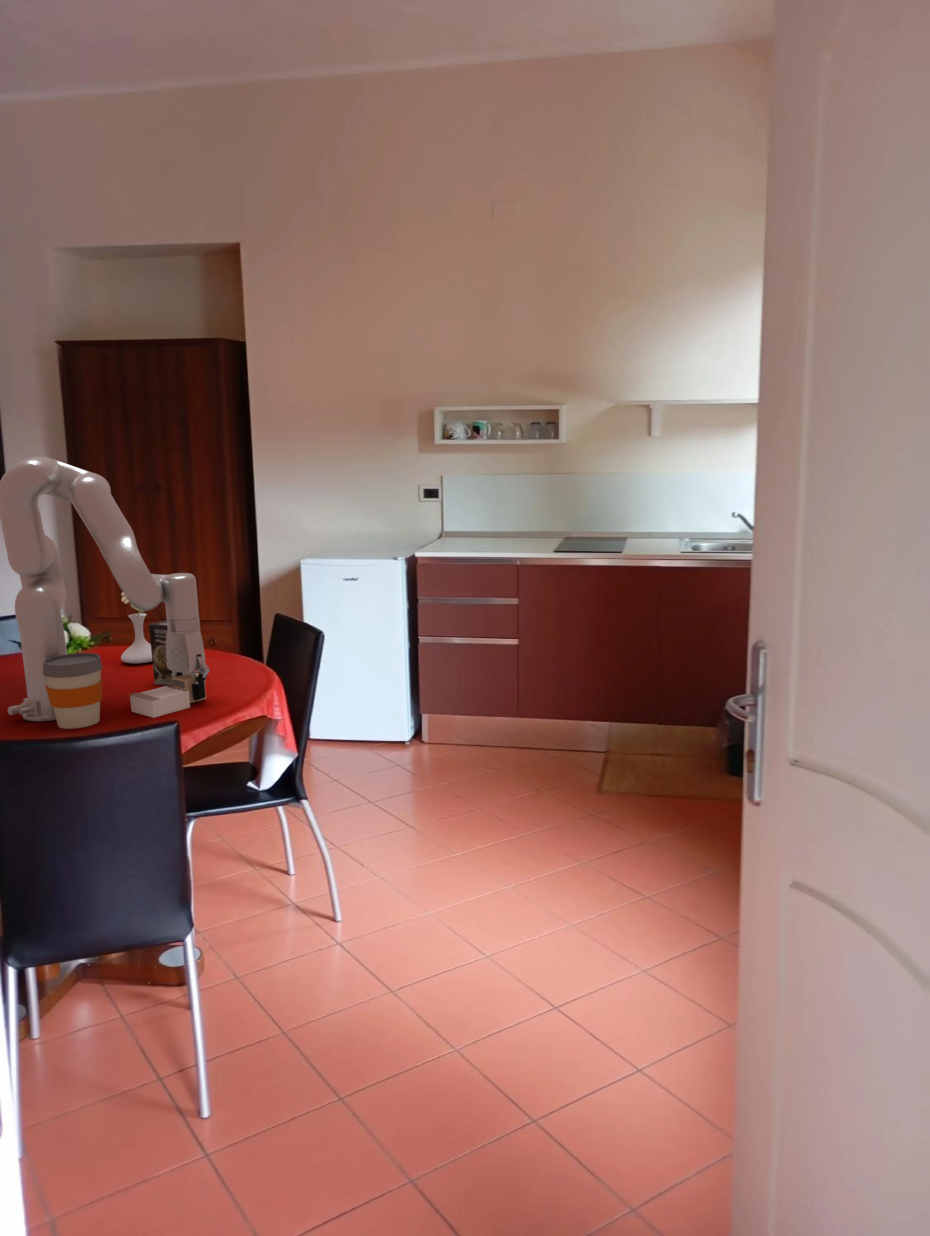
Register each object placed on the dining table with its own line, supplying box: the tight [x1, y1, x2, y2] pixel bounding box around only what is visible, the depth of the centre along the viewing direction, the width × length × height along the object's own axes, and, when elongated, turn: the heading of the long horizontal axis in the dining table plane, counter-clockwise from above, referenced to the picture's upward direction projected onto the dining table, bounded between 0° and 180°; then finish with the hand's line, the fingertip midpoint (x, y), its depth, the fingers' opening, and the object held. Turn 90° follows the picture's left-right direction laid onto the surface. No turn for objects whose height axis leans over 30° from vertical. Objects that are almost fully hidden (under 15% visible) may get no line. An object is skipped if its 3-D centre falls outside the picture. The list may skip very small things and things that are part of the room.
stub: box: [172, 673, 207, 704], centre depth 240 cm, size 6×4×6 cm
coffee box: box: [148, 619, 185, 687], centre depth 258 cm, size 9×6×16 cm
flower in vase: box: [120, 591, 152, 665], centre depth 282 cm, size 13×11×25 cm
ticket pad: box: [129, 685, 191, 719], centre depth 234 cm, size 10×9×4 cm
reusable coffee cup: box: [43, 652, 103, 730], centre depth 225 cm, size 13×13×15 cm
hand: (190, 696), depth 241 cm, fingers open, 6 cm apart
